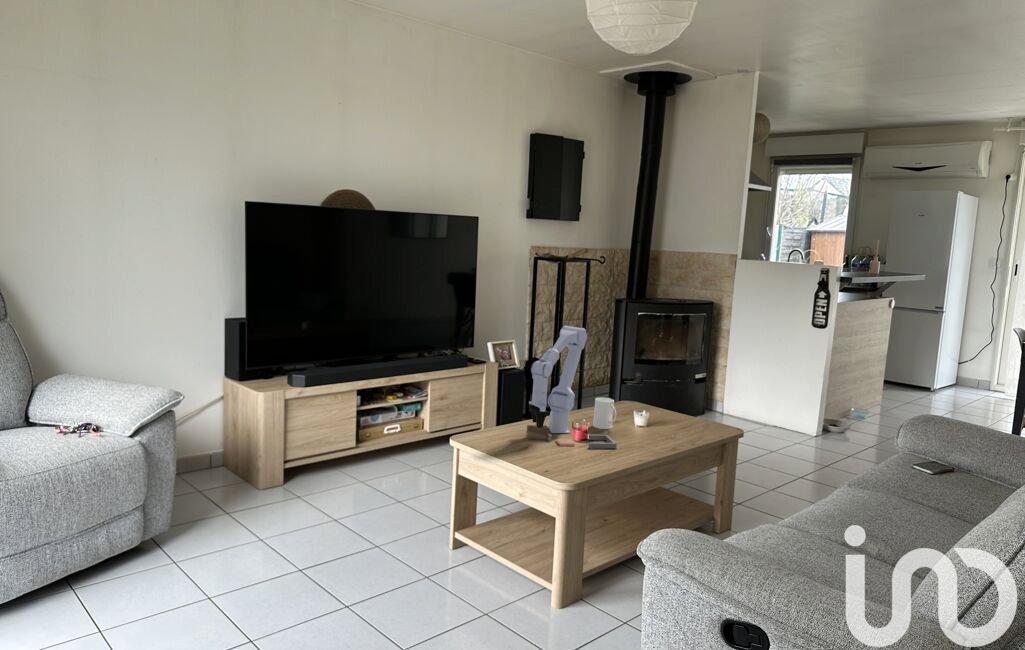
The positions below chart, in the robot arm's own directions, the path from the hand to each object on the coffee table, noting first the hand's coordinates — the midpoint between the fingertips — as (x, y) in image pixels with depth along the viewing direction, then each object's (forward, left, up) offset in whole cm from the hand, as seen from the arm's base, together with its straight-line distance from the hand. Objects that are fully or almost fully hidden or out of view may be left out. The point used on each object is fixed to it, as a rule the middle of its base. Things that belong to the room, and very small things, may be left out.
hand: (537, 424), depth 285 cm
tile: (+7, +10, -6) cm, 14 cm away
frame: (+7, +23, -6) cm, 25 cm away
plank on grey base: (0, 0, -6) cm, 6 cm away
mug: (-17, +34, -6) cm, 39 cm away
